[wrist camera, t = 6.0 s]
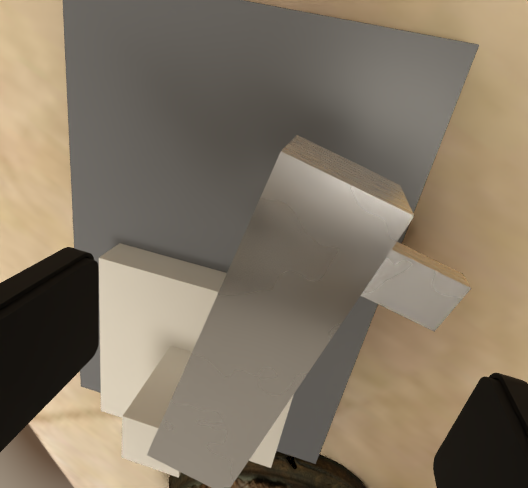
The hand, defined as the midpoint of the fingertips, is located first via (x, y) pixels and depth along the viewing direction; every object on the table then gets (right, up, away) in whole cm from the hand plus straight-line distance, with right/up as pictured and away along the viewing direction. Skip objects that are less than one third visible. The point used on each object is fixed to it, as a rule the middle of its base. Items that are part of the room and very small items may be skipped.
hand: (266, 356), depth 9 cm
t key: (+5, +3, +9) cm, 11 cm away
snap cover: (-4, -4, +15) cm, 16 cm away
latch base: (-2, +2, +13) cm, 14 cm away
